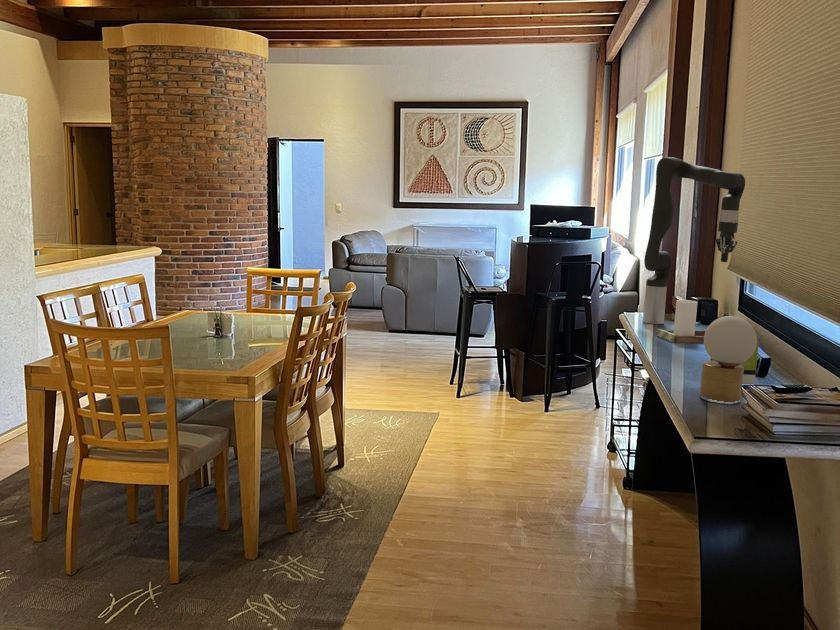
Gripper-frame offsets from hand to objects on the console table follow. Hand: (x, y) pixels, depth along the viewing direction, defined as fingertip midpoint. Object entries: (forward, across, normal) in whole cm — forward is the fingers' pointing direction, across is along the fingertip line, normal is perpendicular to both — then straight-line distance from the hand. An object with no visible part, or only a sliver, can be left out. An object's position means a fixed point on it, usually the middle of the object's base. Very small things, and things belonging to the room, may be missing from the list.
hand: (723, 262), depth 337 cm
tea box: (+31, +79, -43) cm, 95 cm away
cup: (+32, +11, -21) cm, 40 cm away
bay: (+31, +10, -17) cm, 37 cm away
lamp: (+30, +104, -62) cm, 124 cm away
